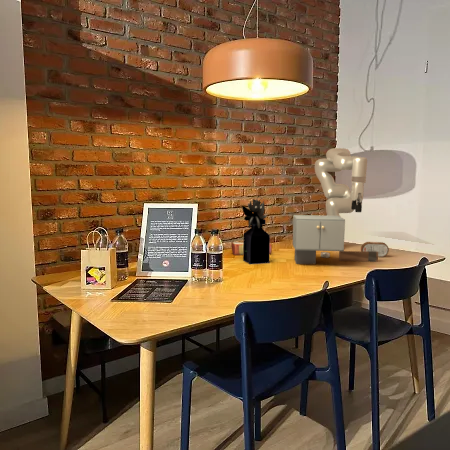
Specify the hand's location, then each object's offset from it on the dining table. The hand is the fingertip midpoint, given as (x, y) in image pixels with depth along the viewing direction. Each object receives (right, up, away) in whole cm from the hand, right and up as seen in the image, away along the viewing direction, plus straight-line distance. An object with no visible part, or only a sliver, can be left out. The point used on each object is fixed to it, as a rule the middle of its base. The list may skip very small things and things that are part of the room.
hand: (356, 210), depth 240 cm
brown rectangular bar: (-1, -27, -7) cm, 28 cm away
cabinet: (-25, -28, -13) cm, 39 cm away
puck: (-17, -26, +2) cm, 31 cm away
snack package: (-57, -25, +10) cm, 63 cm away
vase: (-57, -28, -12) cm, 64 cm away
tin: (+12, -26, +5) cm, 29 cm away
